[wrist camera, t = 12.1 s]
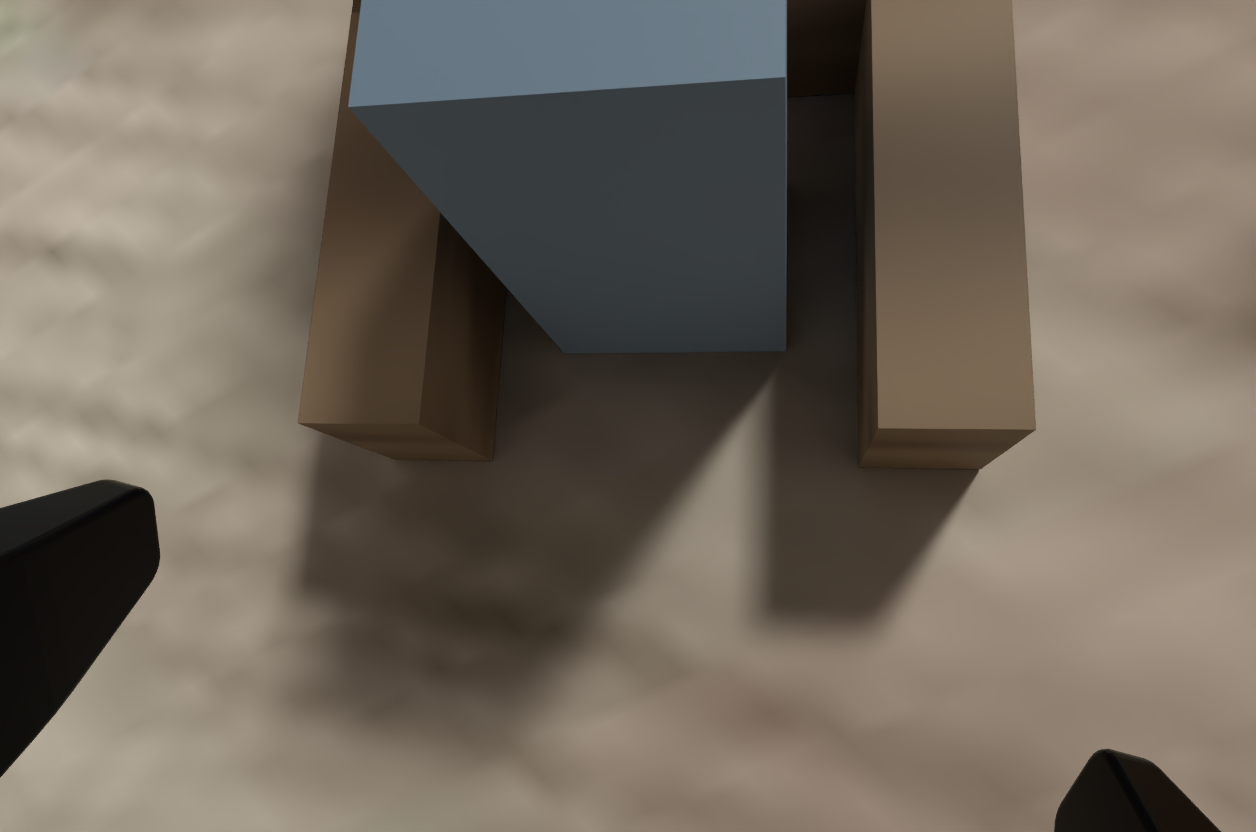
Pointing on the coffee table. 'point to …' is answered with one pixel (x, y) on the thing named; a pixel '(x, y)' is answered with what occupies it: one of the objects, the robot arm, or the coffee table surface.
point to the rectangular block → (599, 157)
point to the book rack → (885, 255)
